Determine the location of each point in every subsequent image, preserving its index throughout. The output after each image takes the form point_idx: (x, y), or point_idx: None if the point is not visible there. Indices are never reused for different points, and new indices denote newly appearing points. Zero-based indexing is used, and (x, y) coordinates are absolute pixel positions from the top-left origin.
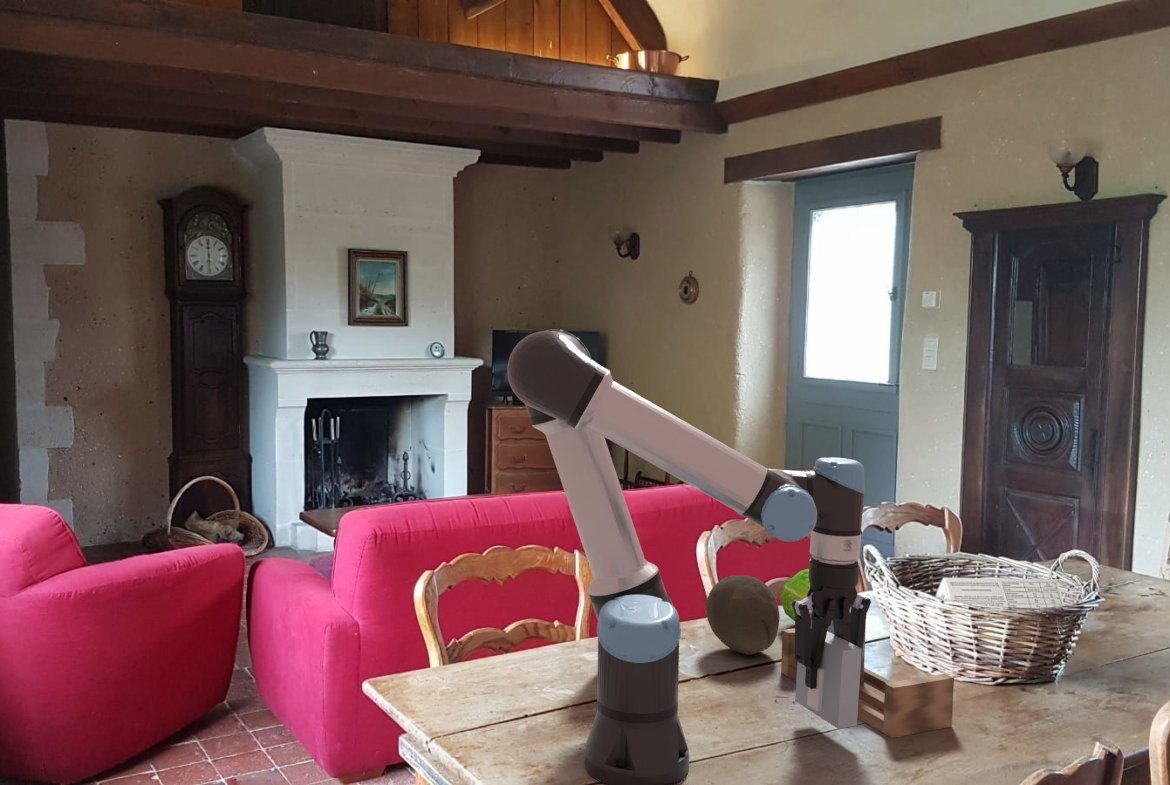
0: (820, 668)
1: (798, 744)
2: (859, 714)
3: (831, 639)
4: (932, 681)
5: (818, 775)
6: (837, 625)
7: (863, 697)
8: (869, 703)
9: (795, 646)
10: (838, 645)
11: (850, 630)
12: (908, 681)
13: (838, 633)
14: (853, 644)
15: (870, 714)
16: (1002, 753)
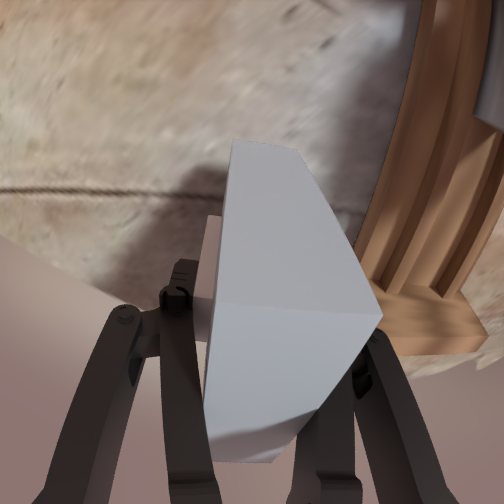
0: (202, 334)
1: (161, 218)
2: (375, 202)
3: (249, 428)
4: (444, 353)
5: (129, 304)
6: (303, 471)
7: (421, 194)
8: (411, 211)
9: (92, 355)
10: (220, 449)
11: (386, 423)
12: (419, 343)
13: (307, 436)
14: (280, 452)
15: (368, 241)
16: (398, 356)
